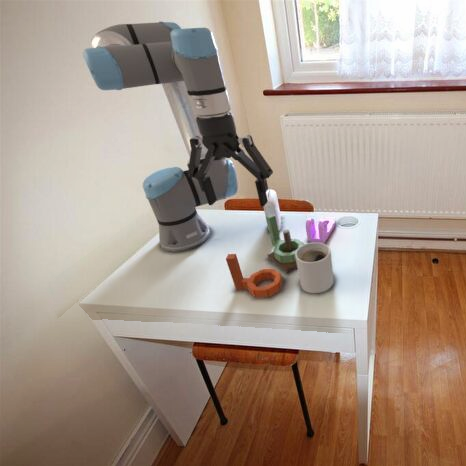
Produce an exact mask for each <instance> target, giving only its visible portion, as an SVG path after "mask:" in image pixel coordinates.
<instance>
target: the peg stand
mask: <svg viewBox="0 0 466 466" xmlns="http://www.w3.org/2000/svg"><path fill="white" fill-rule="evenodd" d="M282 234H283V240H285V245H286V250H284V251H282V252H283V253H290V252H293V251H295V250H296V248H293V247H292V242H291V239H292V238H291V232H290V230H289V229H284V230H283V231H282ZM266 257H267V260H268V261H270V262H271V263H272V264H274V265H275V266H276V267H278V268H279V269H281V271H283V272H285V273H286V274H289V273H291V272H292V271H294V270H296V269H298V268H297V263H296V261H295V262H294V261H293V262H292V263H281V262H280V261H278V260H277V259H275V255H274V251H272V252H271V253H269V254H267V255H266Z"/></svg>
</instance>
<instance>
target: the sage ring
mask: <svg viewBox="0 0 466 466" xmlns="http://www.w3.org/2000/svg"><path fill="white" fill-rule="evenodd" d="M266 219H267V221H266V224H268V225H267V229H268V228H269V229H268V231H269V236H270V240H271V244H272V246H273V247H274V248H273V251H272V252H274V255H275V259H277V260H278V261H280V262H281V263H292V262H293V261H294V262H295V261H296V257H295V253H296V251H297V249H298V248H299V247H301V246H302V245H304V242H303V241H301V240H300V239H298V238H291V242H292V247H293V248H296V250H295V251H293V252H290V253H283V252H282V251H284V250H286V245H285V240H284V239H281V237H280V232H279V231H280V230H279V231H278V226H277V222H276V217H275V215H273V214H269V215H267V216H265V220H266Z"/></svg>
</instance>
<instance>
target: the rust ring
mask: <svg viewBox="0 0 466 466" xmlns="http://www.w3.org/2000/svg"><path fill="white" fill-rule="evenodd" d="M225 262H226V264H227V267H228V270H229V273H230V276H231V279H232V282H233V285H234V288H235V291H244V290H248V292H249V293H250V294H251V296H253V297H254V298H257V299H261V298H264V299H265V298H271V297H272V296H274V295H275V294H278V292H280V291H281V290H282V287H283V278H282V273H280V272H279V271H277V270H276V269H275V268H263V269H259V270H258V271H256V272H253V273H252V274H251V275H249V277H244V275H243V272H242V269H241V267H240V263H239V259H238V256H237V253H228V254H227V256H226V257H225ZM264 280H266V281H267V280H273V281H272V282H271V283H269V284H268V285H266V286H265V285H264V286H257V285H258V284H259V283H261V282H262V281H264Z"/></svg>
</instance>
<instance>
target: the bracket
mask: <svg viewBox="0 0 466 466" xmlns="http://www.w3.org/2000/svg"><path fill="white" fill-rule="evenodd" d="M335 227H336V222H335V219H334V218H333V217H324V218H321V219H319V220H318V222H317V223H316V224H315V219H314V218H307V219H306V221H305V232H306V238H307V242H310V243H312V242H319V243H323V244H325V243H326V240H328V238H329V236H330V235H331V233H332V232H333V230H334V228H335Z"/></svg>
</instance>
